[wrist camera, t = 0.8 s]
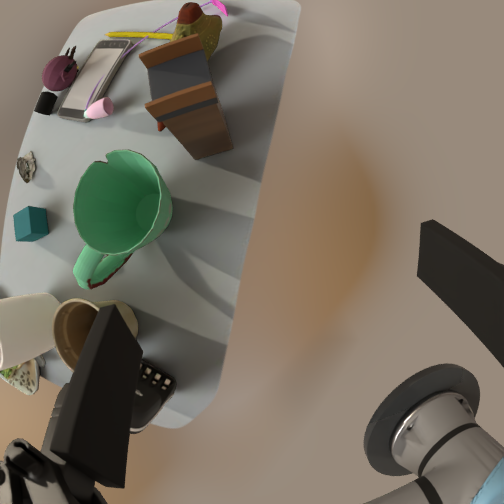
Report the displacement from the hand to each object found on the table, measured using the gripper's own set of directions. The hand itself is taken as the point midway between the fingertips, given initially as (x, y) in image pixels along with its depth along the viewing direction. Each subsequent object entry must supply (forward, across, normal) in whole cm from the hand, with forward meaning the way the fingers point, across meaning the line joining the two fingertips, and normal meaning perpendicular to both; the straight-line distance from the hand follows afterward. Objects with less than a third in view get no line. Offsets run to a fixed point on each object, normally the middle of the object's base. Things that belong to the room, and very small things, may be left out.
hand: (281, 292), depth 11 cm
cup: (+22, +31, +11) cm, 40 cm away
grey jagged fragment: (+32, +33, -11) cm, 47 cm away
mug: (+24, +12, +4) cm, 27 cm away
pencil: (+38, +8, -24) cm, 46 cm away
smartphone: (+36, +17, -20) cm, 45 cm away
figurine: (+35, +28, -18) cm, 48 cm away
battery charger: (+16, +16, +20) cm, 30 cm away
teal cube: (+28, +30, -1) cm, 41 cm away
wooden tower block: (+27, +2, -5) cm, 28 cm away
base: (+17, +3, -10) cm, 20 cm away
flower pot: (+20, +19, +13) cm, 31 cm away
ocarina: (+32, +2, -14) cm, 35 cm away
